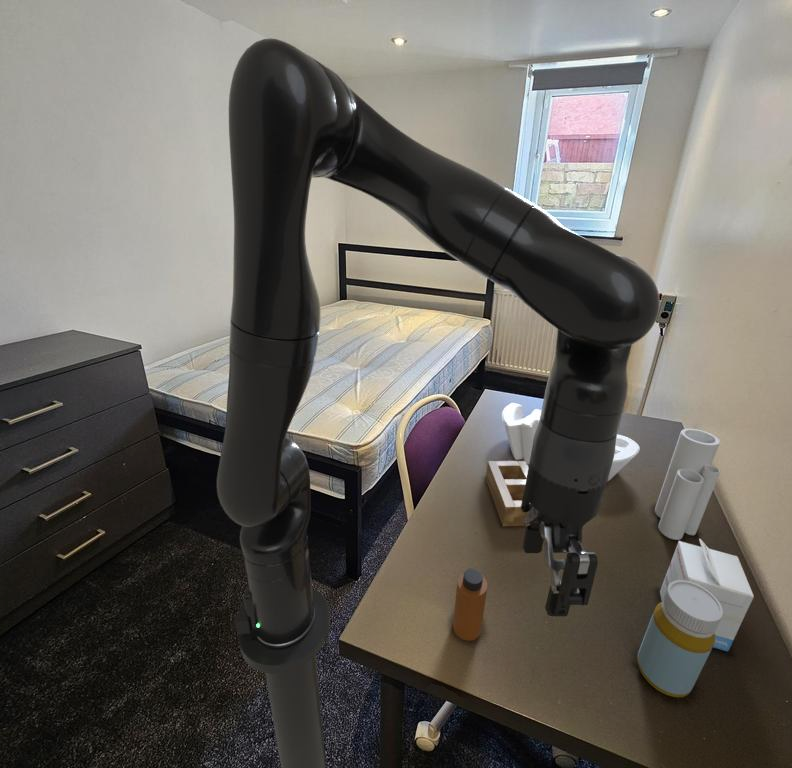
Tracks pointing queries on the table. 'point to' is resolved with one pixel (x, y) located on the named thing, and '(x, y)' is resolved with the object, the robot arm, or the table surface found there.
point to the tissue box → (714, 584)
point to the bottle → (679, 638)
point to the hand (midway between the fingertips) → (542, 579)
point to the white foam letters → (525, 428)
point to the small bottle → (469, 604)
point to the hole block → (508, 489)
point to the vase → (688, 484)
